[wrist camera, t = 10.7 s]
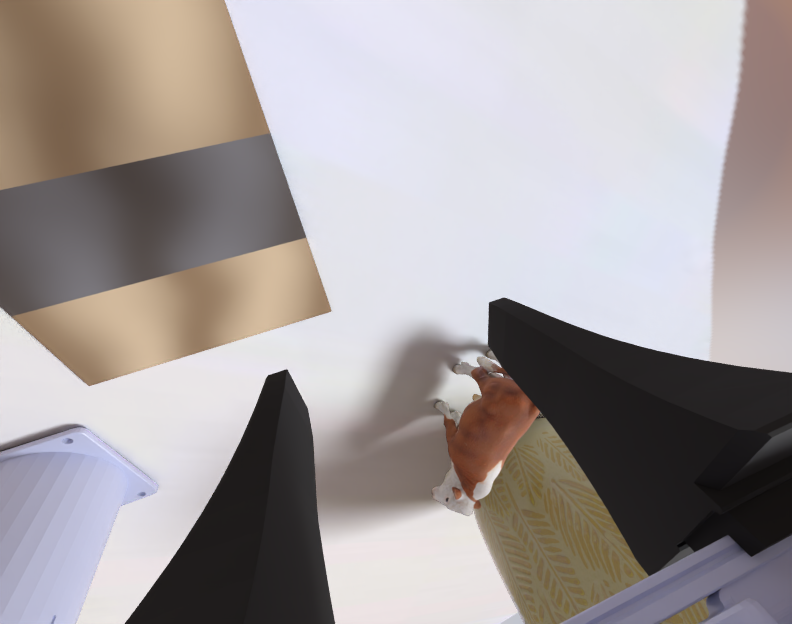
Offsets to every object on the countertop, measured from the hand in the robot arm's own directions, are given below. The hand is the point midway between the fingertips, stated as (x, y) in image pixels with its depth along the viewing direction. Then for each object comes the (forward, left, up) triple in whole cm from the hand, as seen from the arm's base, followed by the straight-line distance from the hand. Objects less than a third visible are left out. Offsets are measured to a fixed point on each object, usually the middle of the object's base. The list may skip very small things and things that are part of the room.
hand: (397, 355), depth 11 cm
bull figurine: (+6, -16, -10) cm, 20 cm away
